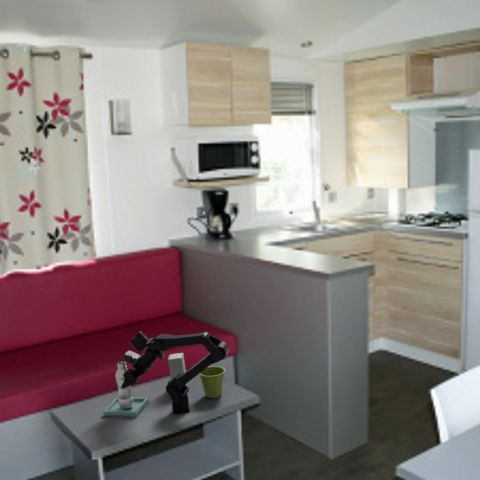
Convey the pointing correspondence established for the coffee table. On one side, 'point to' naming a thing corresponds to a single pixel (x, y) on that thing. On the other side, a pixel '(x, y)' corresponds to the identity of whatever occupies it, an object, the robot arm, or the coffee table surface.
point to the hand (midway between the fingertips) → (126, 383)
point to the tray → (134, 411)
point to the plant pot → (212, 381)
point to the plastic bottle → (124, 393)
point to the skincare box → (176, 364)
